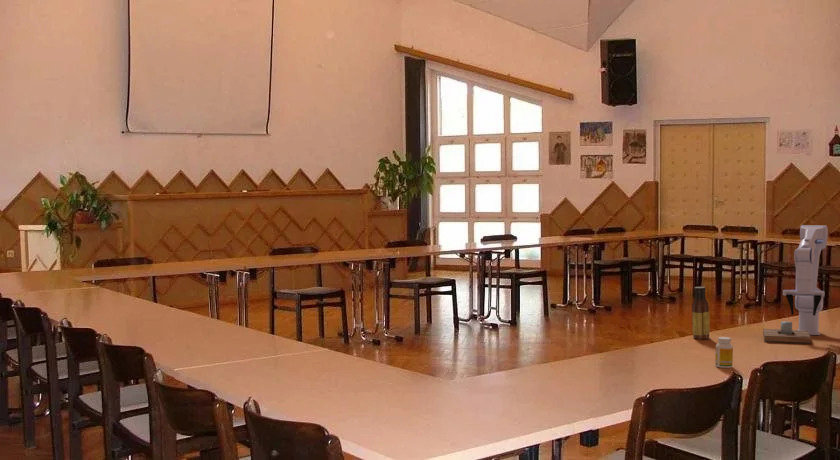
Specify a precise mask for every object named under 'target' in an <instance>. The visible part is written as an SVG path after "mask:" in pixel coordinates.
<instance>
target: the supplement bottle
mask: <svg viewBox="0 0 840 460" xmlns="http://www.w3.org/2000/svg"><path fill="white" fill-rule="evenodd" d="M717 342H718V343H716V345H715V365H714V366H715V367H717V368H719V369H731V368H733V361H734V360H733V359H734V355H733V353H734V352H733V351H734V346H733V344H732V338H731V337H727V336H718V337H717Z"/></svg>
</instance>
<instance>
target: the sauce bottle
mask: <svg viewBox="0 0 840 460" xmlns="http://www.w3.org/2000/svg"><path fill="white" fill-rule="evenodd" d="M709 306H710V305H709V302H708V301H707V299H706V286H694V300H693V302H692V307H691V314H692V317H691V318H692V319H691V320H692V321H691V322H692V336H693V338H694V339H695V340H707V339H710V311H709V309H710V308H709Z"/></svg>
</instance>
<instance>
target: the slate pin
mask: <svg viewBox="0 0 840 460" xmlns="http://www.w3.org/2000/svg"><path fill="white" fill-rule="evenodd" d="M780 329H781V334H791V335H792V330H793V322H791V321H785V320H784V321H780Z"/></svg>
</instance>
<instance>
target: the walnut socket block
mask: <svg viewBox="0 0 840 460" xmlns="http://www.w3.org/2000/svg"><path fill="white" fill-rule="evenodd" d="M762 330H763V331H762V333H763V334H762V335H763V342H764V343H775V344H776V343H777V344H798V345H800V344H801V345H811V341H812V340H811V339H812V338H811V335H809V333H808V331H807V330H797V329H792V335H791V334H781V328H778V329H777V328H763V329H762Z"/></svg>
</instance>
